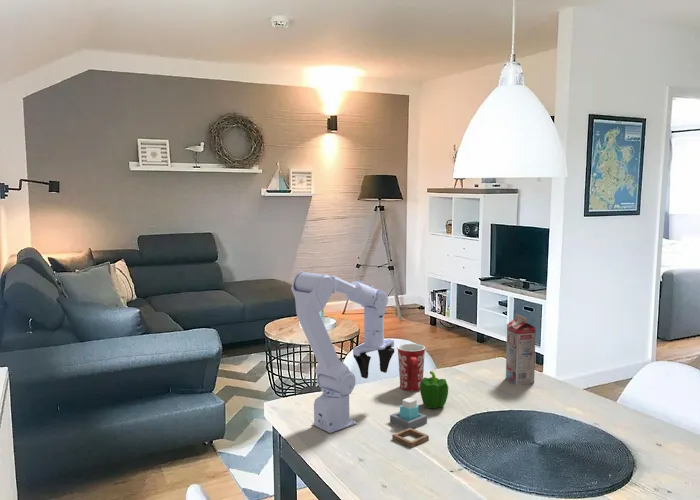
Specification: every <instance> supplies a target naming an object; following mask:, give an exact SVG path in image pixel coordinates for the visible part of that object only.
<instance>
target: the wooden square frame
mask: <svg viewBox="0 0 700 500" xmlns="http://www.w3.org/2000/svg"><path fill="white" fill-rule="evenodd" d="M408 435H412V436H414V437H416V438H415V439H412V440H409V439H408V438H405V437H406V436H408ZM391 438H392V439H391V440H393V441H396V442H398V443H400V444H402V445H404V446H406V447H409V448H413V447H416V446H418V445H421V444H423V443H425V442H428V441H430V436H429V435H428V434H426V433H424V432H421V431H419V430H416V429H415V428H413V429H412V428H408V429H403V430H401V431H398V432H396V433H393V434H392V437H391Z"/></svg>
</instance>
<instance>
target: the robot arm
mask: <svg viewBox="0 0 700 500" xmlns="http://www.w3.org/2000/svg"><path fill="white" fill-rule="evenodd" d="M290 289H291V292H292V295H293V296H294V300H295V302H294V303H295V311H296V312H295V313H296V316H297V319H298V321H299V323H300V326H301V327H302V328H301V329H302V330H303V332H304V335H305V337H306V339H307V341H308V343H309V345H310V349H311V350H312V353H313V355H314V357H315V359H316V361H317V363H318V364H317V365H316V367H315V370H314V372H315V374H316V383H317V385H318V387H320V391H321V392H322V393H321V395H320V396H318V397H316V398H315V400H314V402H313V422H312V425H313V426H315V427H317V428H319V429H321V430H323V431H325V432H327V433H329V434H330V433H335V432H337V431H340V430H343V429H345V428H348V427H351V426H354V425H356V424H357V421H355V420H353V419H351V418H350V395H351V394H352V392H353V390H354V389H355V387H356V386H355V385H356V376H355V374H354V373H353V372H352V371H351V370H350V369H349V367H348V365H346V363H344V362H343V361H341V359H339V356H338V354H337V352H336V349H335V347H334V344H333V342H332V340H331V338H330V334H329V333H328V331H327V328H326V325H325V323H324V320H323V319H322V317H321V314H320V312H321V311H324V308H325V307H326V305H327V304H328V302H329V300H330V298H331V296H332V294H335V293H336V292H337V293H339V294H343V295H346V299H347V300H348V301H350V302H353V303H355V304H359V305H360V306H361V307H362V308H363V328H364V329H363V331H364V332H363V333H364V334H363V341H364V342H363V343H362V344H360V345H358V346H356V347H353V348H352V357H353V358H354V359H355V362H356V363H357V365H358V369H359V373H360V376H361V378H363V379H368V377H369V368H370V367H369V366H370V361H371V359H372V356H369V355H368V354H367V353H370V352H375V351H377V353H378V359H379V371H380V372H381V373H385V374H386V373H387V372H388V369H389V364H390V362H391V359H392V357H393V355H394V354H395V348H394V347H395V340H394V339H391V338H390V339H385V338H384V337H385V333H384V332H385V324H384V323H385V319H384V318H385V315H386V308H387V305H388V304H389V303H388V302H389V298H388V295H387V293H386V292H385V290H383V289H380V288H379V289H377V288H374V285H371V284H369V285H367V284H365V283H364V281H363V280H355V281H352V282H349V281H346V280H343V279H341V278H340V277H337V276H335V275H329V274H326V273H325V274H322V273H313V272H307V271H304V270H301V271H299V272H298V273H296V275H294V278H293V281H292V284H291V287H290Z"/></svg>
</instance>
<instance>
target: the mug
mask: <svg viewBox="0 0 700 500" xmlns="http://www.w3.org/2000/svg"><path fill="white" fill-rule="evenodd" d="M396 349H397V359H398V372H399V387H400V389H401V390H403V391H406V392H418V391H419V392H420V384H421V381H422V380H423V378H424V369H425V368H424V367H425V354H426V353H425V352H426V346H424V345H422V344H419V343H403V344H400V345H397V347H396Z"/></svg>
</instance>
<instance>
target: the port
mask: <svg viewBox="0 0 700 500" xmlns="http://www.w3.org/2000/svg"><path fill="white" fill-rule="evenodd" d="M389 422H390V423H392V424H393V425H396V426H397V427H401V428H403V429H404V430H406V429H408V428H412V429H415V428H418V427H420V426H422V425H426V424H428V415H426V414H423V413H421V412H419V417H418V418H415V419H412V420H410V421H408V420H406V419H403V418H401V417H400V411H397V412H395V413H392V414H390V415H389Z"/></svg>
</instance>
